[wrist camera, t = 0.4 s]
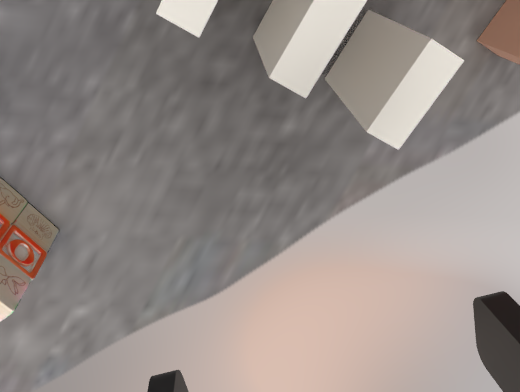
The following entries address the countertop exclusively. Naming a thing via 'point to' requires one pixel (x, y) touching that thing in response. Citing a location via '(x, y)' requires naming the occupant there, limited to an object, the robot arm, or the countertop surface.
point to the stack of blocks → (20, 246)
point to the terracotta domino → (504, 32)
